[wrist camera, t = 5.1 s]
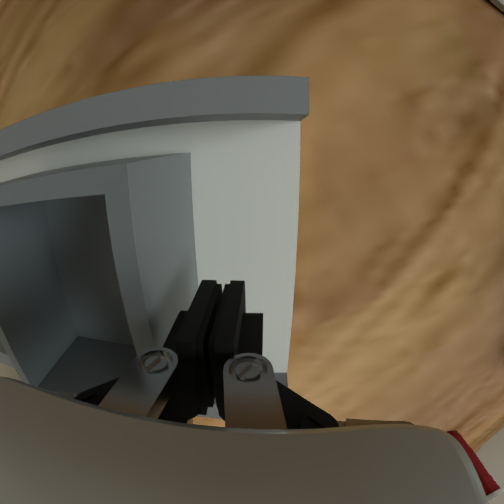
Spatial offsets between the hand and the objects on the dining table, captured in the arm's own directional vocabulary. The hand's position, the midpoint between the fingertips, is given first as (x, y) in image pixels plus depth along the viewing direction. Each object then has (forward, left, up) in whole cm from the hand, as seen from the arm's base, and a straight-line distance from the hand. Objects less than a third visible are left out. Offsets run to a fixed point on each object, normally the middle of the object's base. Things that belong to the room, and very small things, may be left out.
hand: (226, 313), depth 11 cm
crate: (0, -7, -4) cm, 8 cm away
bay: (0, -11, -5) cm, 12 cm away
